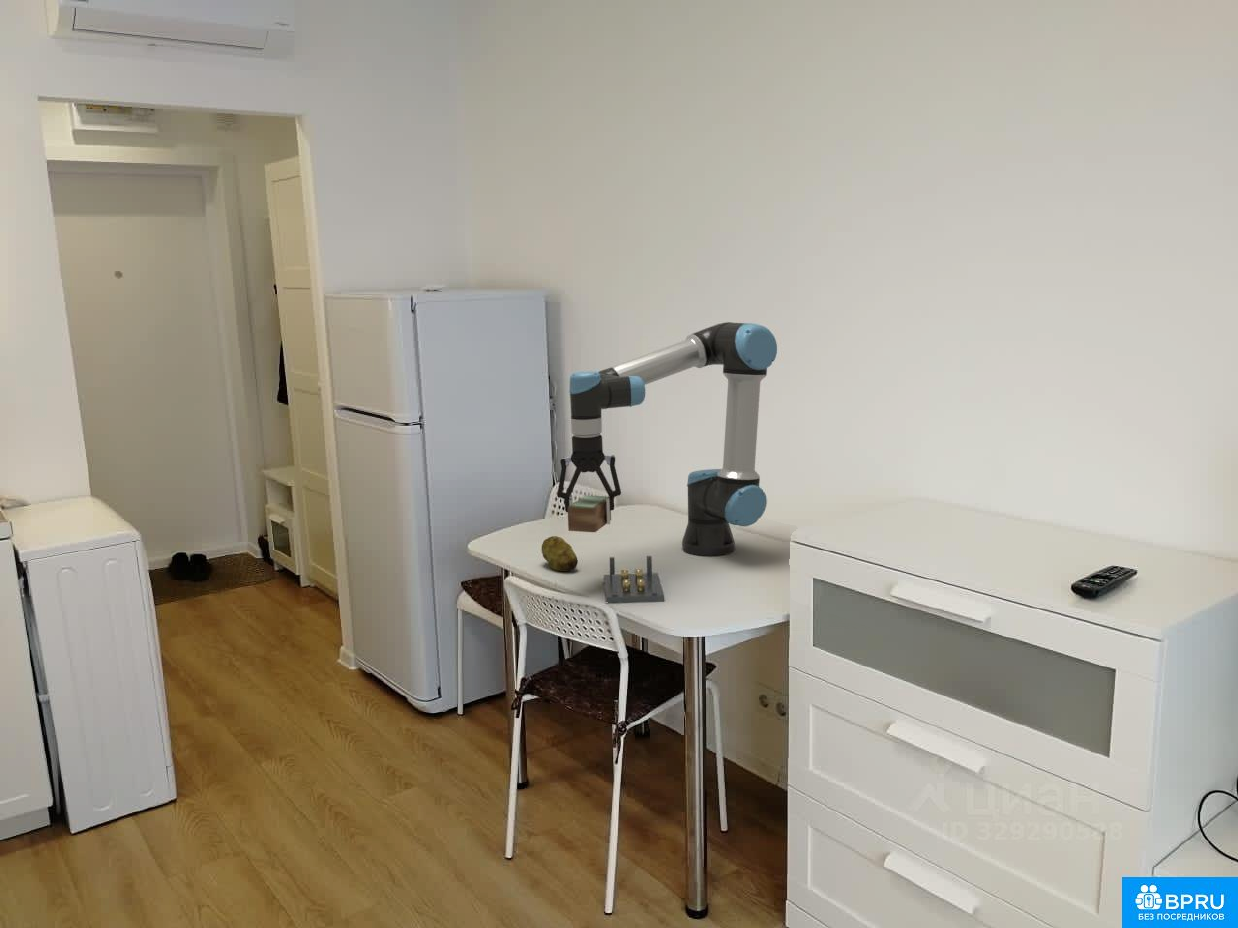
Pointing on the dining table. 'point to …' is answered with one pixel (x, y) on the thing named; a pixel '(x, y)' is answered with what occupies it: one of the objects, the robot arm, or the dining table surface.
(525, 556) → the dining table surface
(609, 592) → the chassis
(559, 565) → the potato
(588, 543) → the dining table surface
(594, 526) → the block
